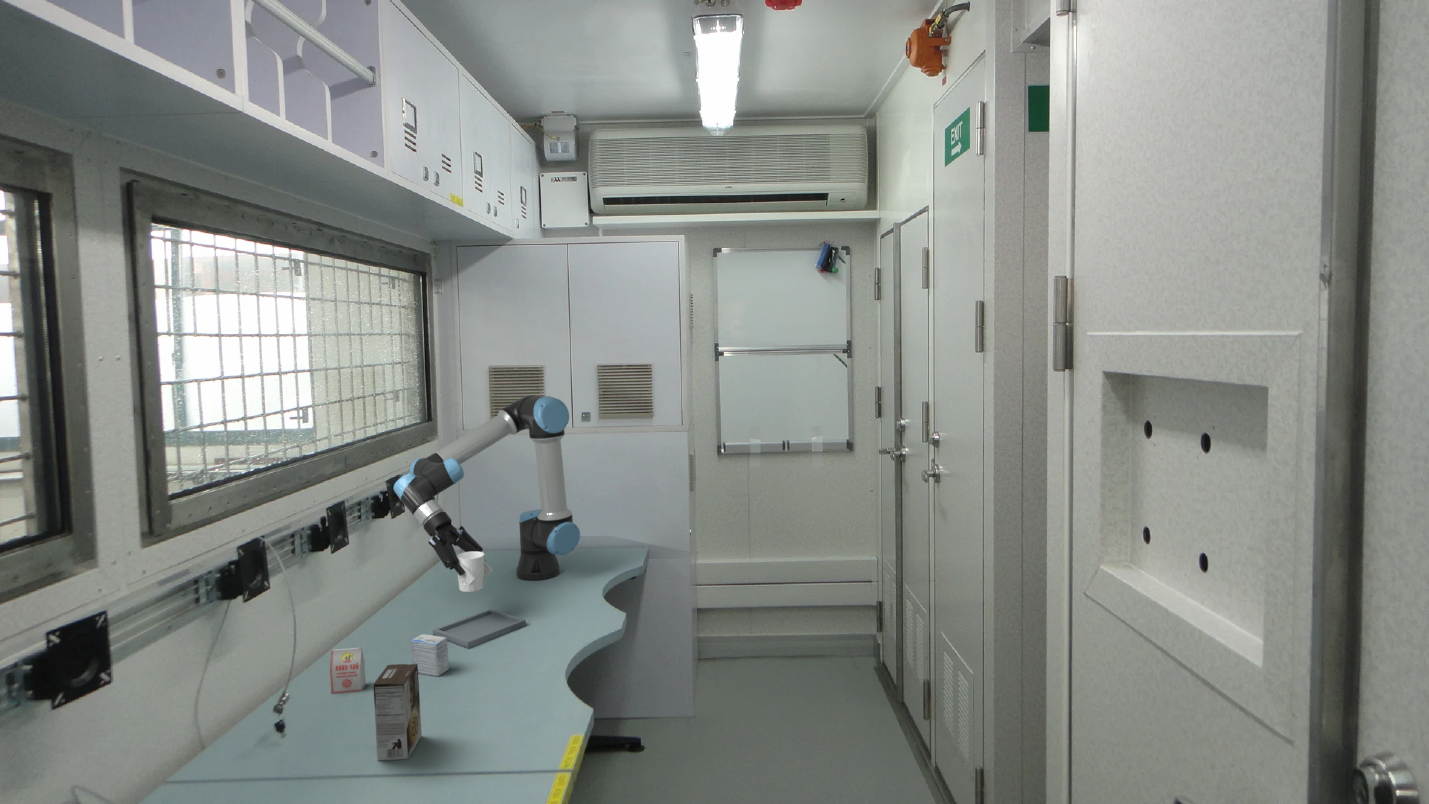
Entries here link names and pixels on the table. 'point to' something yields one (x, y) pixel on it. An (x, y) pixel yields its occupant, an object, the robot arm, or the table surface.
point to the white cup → (472, 570)
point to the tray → (479, 628)
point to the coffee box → (397, 711)
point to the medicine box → (430, 654)
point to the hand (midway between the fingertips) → (481, 577)
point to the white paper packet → (347, 670)
